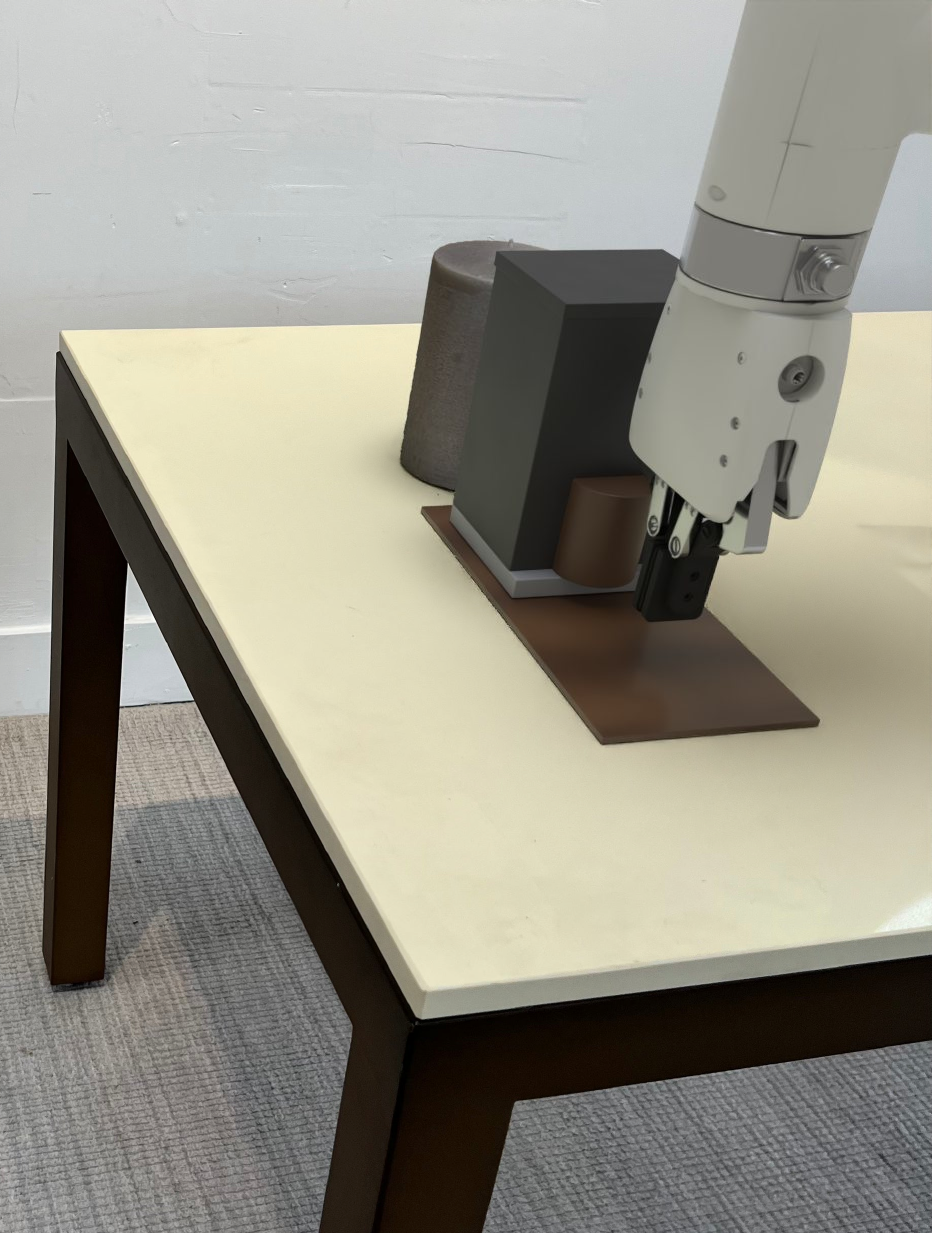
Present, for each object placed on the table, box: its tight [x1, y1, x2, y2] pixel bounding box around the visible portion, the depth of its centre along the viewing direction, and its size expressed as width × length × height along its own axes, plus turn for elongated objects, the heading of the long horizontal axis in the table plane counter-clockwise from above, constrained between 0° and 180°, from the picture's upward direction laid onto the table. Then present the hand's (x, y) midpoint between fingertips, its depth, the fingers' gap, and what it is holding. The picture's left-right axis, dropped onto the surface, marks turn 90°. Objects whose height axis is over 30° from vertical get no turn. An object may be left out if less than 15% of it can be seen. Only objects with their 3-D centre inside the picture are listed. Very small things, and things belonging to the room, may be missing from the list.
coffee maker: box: [450, 248, 680, 598], centre depth 79 cm, size 12×10×16 cm
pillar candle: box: [399, 238, 549, 491], centre depth 91 cm, size 10×10×15 cm
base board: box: [420, 504, 821, 745], centre depth 80 cm, size 26×12×1 cm, turn 11°
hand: (665, 612), depth 73 cm, fingers closed
